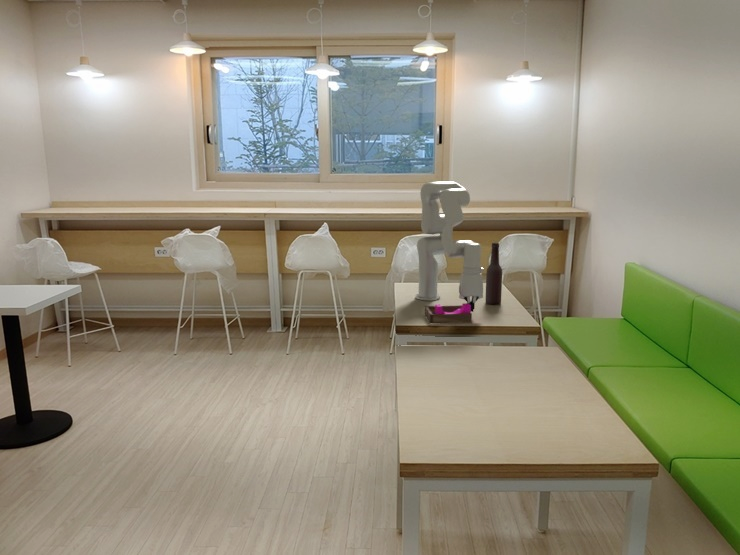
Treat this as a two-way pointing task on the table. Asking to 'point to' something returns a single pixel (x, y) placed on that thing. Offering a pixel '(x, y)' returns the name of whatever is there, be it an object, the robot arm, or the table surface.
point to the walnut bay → (447, 315)
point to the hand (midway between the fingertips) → (470, 310)
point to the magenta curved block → (464, 309)
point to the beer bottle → (494, 278)
